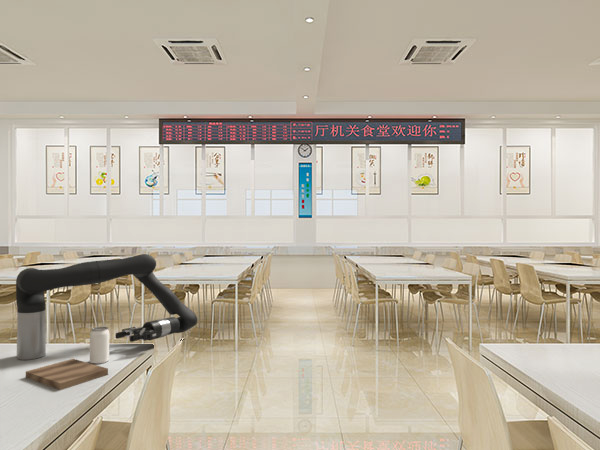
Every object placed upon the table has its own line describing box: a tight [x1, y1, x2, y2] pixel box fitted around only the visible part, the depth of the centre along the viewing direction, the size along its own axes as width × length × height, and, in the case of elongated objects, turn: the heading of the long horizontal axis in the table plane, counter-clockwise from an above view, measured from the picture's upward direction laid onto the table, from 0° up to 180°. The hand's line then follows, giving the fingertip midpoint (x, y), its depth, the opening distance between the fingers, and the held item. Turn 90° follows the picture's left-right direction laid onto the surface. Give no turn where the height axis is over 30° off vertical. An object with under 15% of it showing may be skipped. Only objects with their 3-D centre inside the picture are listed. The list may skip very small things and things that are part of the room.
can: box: [89, 326, 110, 365], centre depth 159 cm, size 6×6×12 cm
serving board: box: [25, 358, 109, 391], centre depth 143 cm, size 20×16×2 cm
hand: (123, 337), depth 167 cm, fingers open, 8 cm apart
